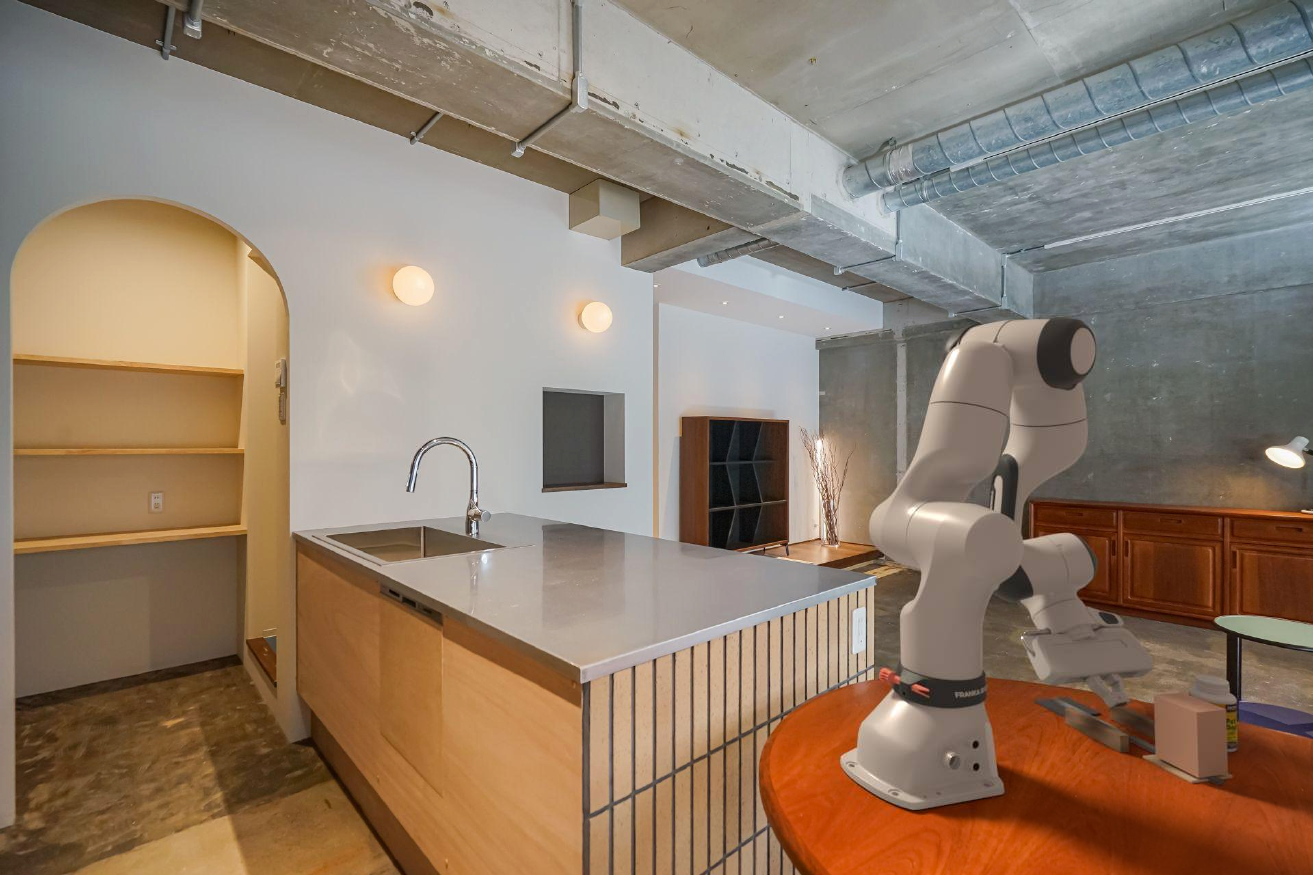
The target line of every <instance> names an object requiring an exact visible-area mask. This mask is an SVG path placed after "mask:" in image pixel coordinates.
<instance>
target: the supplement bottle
mask: <svg viewBox="0 0 1313 875" xmlns="http://www.w3.org/2000/svg"><path fill="white" fill-rule="evenodd" d="M1230 692H1231V688H1230V682H1229V681H1228V680H1226V679H1224V678H1221V677H1218V676H1215V675H1209V674H1197V675H1195V676H1194V686H1191V687H1189V689H1188V695H1190V696H1193V697H1195V698H1198V699H1200V700H1203V701H1206V702H1208V703H1211V704H1214V705H1216V706H1219V707H1221V708H1224V709H1226V724H1227V753H1232V752H1236V751H1237V749H1238V748H1239V747H1238V743H1239V742H1238V702H1237V701H1238V700H1237V698H1236V696H1235V695H1234V694H1232V693H1230ZM1233 722H1234V723H1233Z"/></svg>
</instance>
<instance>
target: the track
mask: <svg viewBox="0 0 1313 875" xmlns="http://www.w3.org/2000/svg"><path fill="white" fill-rule="evenodd" d="M1057 698H1058V697H1050V698H1049V699H1050V700H1051V701H1053V702H1055V703H1057V704H1059V705H1061V706H1063V707H1065V717H1064V721H1065V722H1064V724H1066V725H1067V726H1070V727H1071V728H1073V729H1075V730H1077V731H1079V732H1081V733H1082V734H1084V735H1086V736H1088V737H1090V738H1092V739H1094V740H1096V741H1098V742H1100V743H1101V744H1103V745H1106V746H1107V747H1109V748H1110V749H1113V750H1115V751H1117V752H1118V753H1121V754H1122V753H1129V752H1130V749H1129V748H1130V744H1129V743H1132V744H1134V745H1136V746H1138V747H1140V748H1141V749H1144V750H1146V751H1148V752H1150V753H1152V754H1153V755H1154V754H1155V744H1151V743H1150V742H1148V741H1146V740H1143V739H1142V738H1139V737H1137V736H1135V735H1134V734H1131V733H1129V732H1127V731H1124V730H1123V729H1121V728H1118V727H1117V726H1115V725H1113V724H1110V723H1108V722H1107V721H1105V720H1102V719H1101V718H1098V717H1097V716H1095V715H1094V716H1092V715H1090V714H1088V713H1086V712H1084V711H1082V710H1080V709H1078V708H1076V707H1074V706H1072V705H1070V704H1068V703H1066V702H1064V701H1061V700H1059V699H1057ZM1109 709H1110V710H1109V711H1110V714H1109V716H1110V720H1113V721H1115V722H1116V723H1119V724H1121V725H1124V726H1125V727H1127V728H1130V729H1131V730H1134V731H1136V732H1138V733H1140V734H1142V735H1144V736H1146V737H1148V738H1151V739H1153V740H1154V741H1155V718H1152V717H1150V716H1148V715H1145V714H1143V713H1141V712H1138V711H1136V710H1135V709H1131V708H1129V707H1127V706H1118V707H1109ZM1206 778H1208V779H1209V781H1208V782H1209V783H1212V784H1214V785H1216V786H1220V785H1222V786H1223V785H1225V779H1221V778H1219V777H1217V776H1209V777H1206Z"/></svg>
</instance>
